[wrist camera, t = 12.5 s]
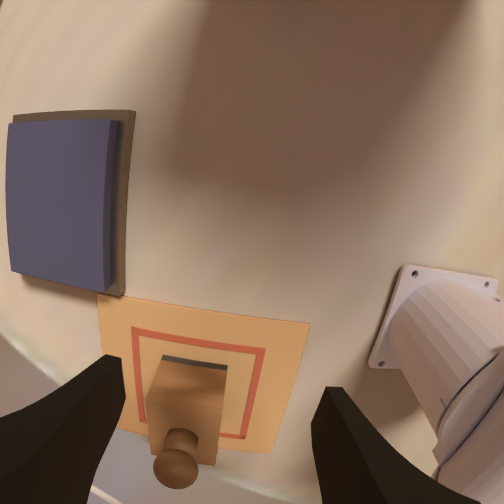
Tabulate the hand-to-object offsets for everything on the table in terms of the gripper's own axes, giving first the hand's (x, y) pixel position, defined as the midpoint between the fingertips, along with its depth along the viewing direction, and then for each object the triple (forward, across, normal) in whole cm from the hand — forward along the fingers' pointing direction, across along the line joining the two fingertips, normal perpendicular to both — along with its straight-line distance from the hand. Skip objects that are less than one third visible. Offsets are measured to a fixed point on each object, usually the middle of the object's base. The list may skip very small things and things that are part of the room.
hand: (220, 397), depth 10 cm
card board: (+9, +2, +9) cm, 13 cm away
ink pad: (+9, +12, -4) cm, 15 cm away
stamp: (+9, +2, +9) cm, 13 cm away
